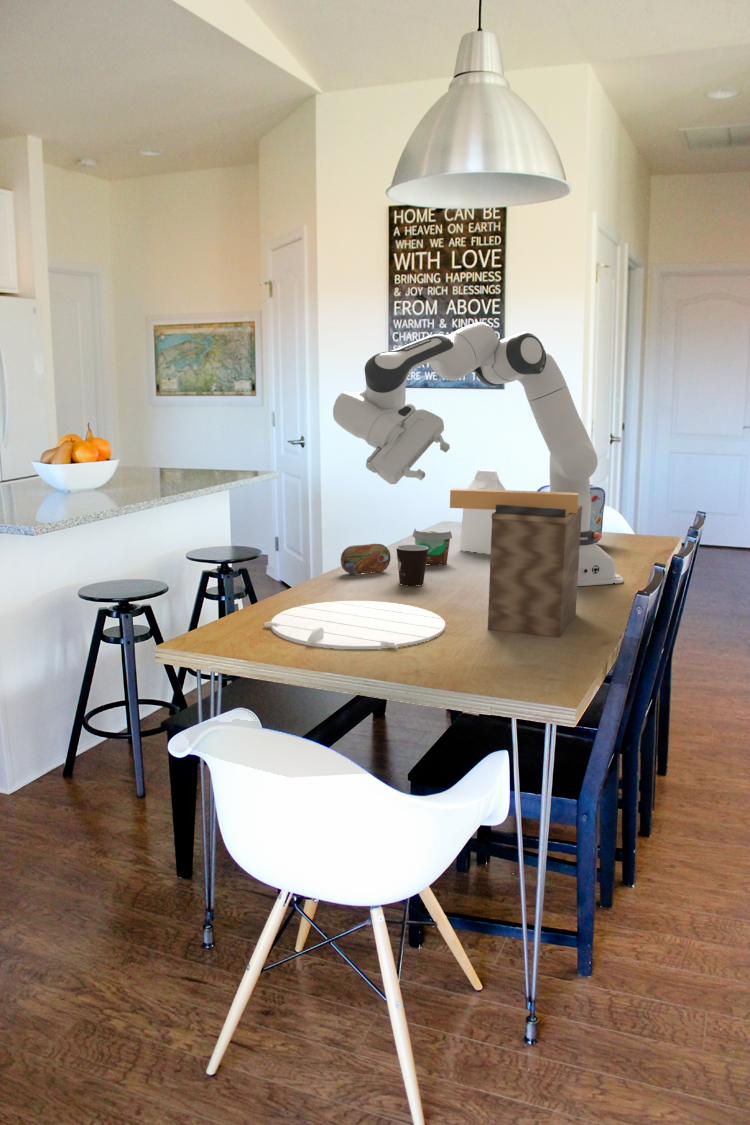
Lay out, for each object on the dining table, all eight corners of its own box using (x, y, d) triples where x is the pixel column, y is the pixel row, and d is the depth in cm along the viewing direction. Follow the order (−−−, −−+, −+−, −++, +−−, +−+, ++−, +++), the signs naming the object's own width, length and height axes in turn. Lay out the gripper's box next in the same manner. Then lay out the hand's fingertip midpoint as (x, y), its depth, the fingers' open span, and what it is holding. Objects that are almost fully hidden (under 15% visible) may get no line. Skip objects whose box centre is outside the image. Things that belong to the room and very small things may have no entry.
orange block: (449, 507, 206) (450, 490, 205) (452, 505, 209) (452, 488, 209) (577, 513, 200) (578, 495, 199) (577, 510, 204) (578, 492, 203)
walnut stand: (487, 629, 204) (491, 505, 198) (510, 606, 225) (515, 494, 219) (559, 637, 198) (566, 510, 193) (576, 613, 219) (582, 497, 214)
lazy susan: (391, 663, 180) (391, 646, 179) (232, 634, 198) (232, 619, 198) (472, 619, 214) (473, 605, 213) (330, 598, 233) (330, 585, 232)
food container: (406, 564, 275) (406, 531, 273) (413, 560, 281) (413, 528, 279) (445, 567, 271) (446, 534, 269) (451, 564, 276) (452, 531, 274)
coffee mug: (424, 588, 244) (425, 551, 242) (393, 586, 245) (393, 549, 243) (431, 579, 255) (431, 543, 253) (400, 577, 256) (401, 542, 254)
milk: (508, 549, 301) (511, 470, 296) (493, 554, 292) (496, 473, 287) (475, 545, 308) (478, 468, 302) (459, 550, 298) (462, 470, 293)
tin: (343, 576, 257) (343, 546, 255) (338, 574, 260) (339, 545, 258) (390, 572, 264) (391, 543, 262) (385, 569, 267) (386, 541, 265)
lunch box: (585, 539, 322) (589, 477, 318) (607, 544, 313) (611, 480, 309) (527, 546, 307) (530, 481, 303) (548, 551, 299) (552, 484, 294)
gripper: (360, 457, 211) (407, 486, 206) (414, 398, 218) (461, 425, 212) (363, 472, 217) (409, 501, 212) (415, 414, 223) (461, 441, 218)
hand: (435, 462), depth 212 cm, fingers open, 8 cm apart
